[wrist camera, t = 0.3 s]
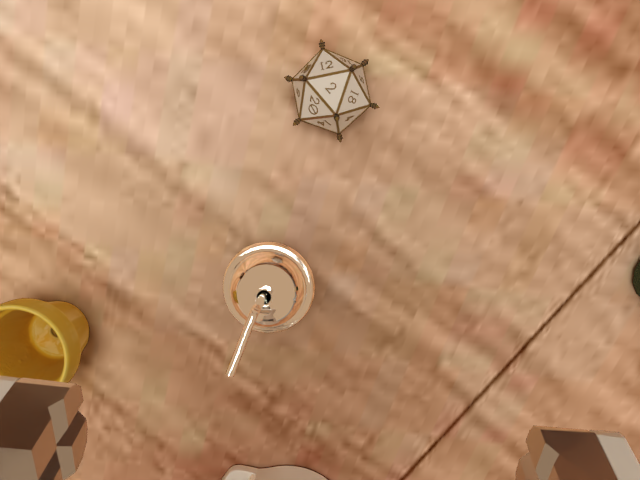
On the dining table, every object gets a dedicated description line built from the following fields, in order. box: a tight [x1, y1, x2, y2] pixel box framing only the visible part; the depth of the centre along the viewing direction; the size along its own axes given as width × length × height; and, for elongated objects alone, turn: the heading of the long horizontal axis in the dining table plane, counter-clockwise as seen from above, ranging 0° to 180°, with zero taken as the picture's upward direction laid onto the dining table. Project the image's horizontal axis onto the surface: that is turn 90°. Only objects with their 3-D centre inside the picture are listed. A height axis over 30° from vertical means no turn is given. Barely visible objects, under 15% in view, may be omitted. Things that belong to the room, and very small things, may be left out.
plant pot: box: [0, 298, 89, 383], centre depth 61 cm, size 10×10×10 cm
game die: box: [284, 40, 379, 142], centre depth 58 cm, size 9×8×10 cm
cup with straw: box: [223, 242, 315, 377], centre depth 54 cm, size 8×9×20 cm
